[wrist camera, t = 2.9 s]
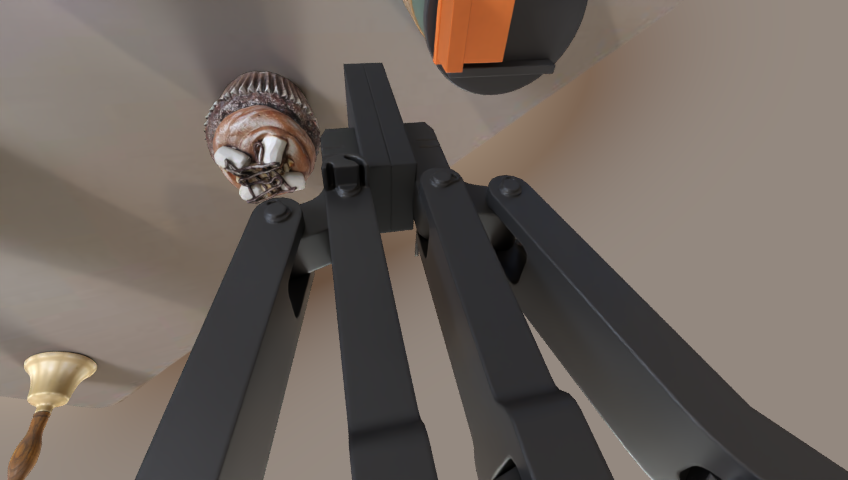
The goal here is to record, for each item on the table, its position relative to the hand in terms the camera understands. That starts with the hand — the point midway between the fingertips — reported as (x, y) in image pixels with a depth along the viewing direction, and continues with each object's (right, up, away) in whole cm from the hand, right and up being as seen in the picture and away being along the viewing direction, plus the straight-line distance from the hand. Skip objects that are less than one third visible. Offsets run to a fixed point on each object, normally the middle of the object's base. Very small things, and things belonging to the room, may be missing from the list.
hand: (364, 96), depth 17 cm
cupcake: (-13, +7, +22) cm, 27 cm away
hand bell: (-51, -24, +43) cm, 71 cm away
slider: (+5, +7, +7) cm, 11 cm away
